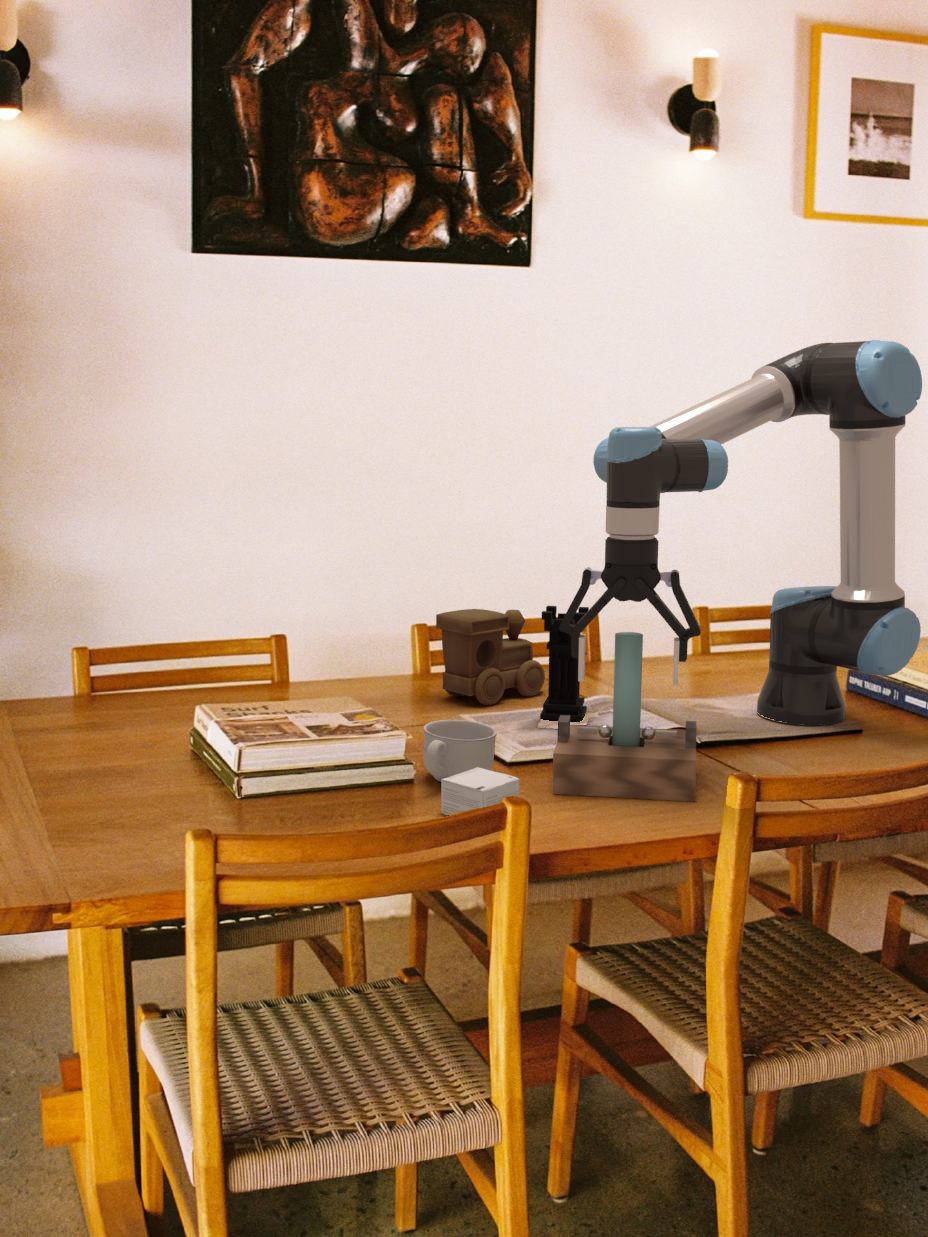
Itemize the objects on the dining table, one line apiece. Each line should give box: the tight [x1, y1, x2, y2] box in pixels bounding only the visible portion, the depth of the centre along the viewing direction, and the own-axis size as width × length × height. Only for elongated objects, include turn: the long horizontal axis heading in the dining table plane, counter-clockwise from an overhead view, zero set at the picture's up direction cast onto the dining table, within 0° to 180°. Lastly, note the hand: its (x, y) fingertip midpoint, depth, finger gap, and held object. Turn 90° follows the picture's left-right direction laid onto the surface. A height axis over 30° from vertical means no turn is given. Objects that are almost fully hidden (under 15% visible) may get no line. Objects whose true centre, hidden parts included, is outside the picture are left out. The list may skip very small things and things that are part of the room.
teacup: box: [422, 719, 498, 783], centre depth 184 cm, size 14×11×8 cm
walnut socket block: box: [552, 715, 698, 803], centre depth 184 cm, size 20×16×9 cm
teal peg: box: [612, 631, 644, 747], centre depth 183 cm, size 4×4×22 cm
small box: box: [440, 767, 520, 816], centre depth 170 cm, size 8×8×5 cm
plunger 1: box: [577, 723, 612, 738], centre depth 184 cm, size 5×2×2 cm, turn 80°
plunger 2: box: [642, 725, 677, 740], centre depth 183 cm, size 5×2×2 cm, turn 80°
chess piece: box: [539, 605, 590, 722], centre depth 215 cm, size 8×8×20 cm
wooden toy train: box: [435, 608, 546, 706], centre depth 234 cm, size 20×11×17 cm, turn 131°
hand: (628, 681), depth 182 cm, fingers open, 13 cm apart
